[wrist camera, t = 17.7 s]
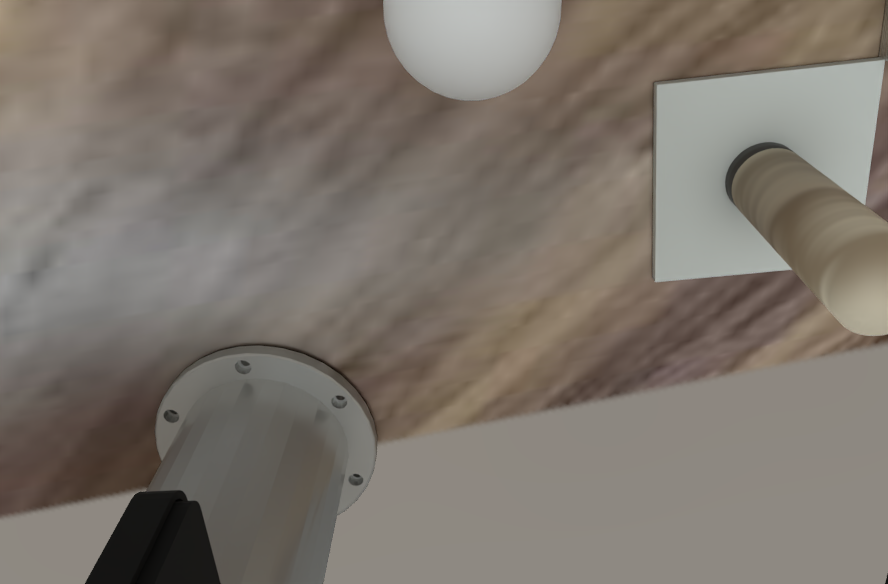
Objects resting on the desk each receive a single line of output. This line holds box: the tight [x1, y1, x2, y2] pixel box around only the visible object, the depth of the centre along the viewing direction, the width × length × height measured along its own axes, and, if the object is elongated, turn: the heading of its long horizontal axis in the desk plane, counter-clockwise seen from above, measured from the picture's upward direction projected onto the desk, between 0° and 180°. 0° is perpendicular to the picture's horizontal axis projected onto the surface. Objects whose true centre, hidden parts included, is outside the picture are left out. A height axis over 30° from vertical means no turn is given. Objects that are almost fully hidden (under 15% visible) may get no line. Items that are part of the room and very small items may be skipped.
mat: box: [652, 57, 885, 282], centre depth 37 cm, size 10×10×1 cm
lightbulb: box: [383, 0, 562, 101], centre depth 29 cm, size 6×6×11 cm
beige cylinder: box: [725, 142, 888, 336], centre depth 31 cm, size 4×4×12 cm
